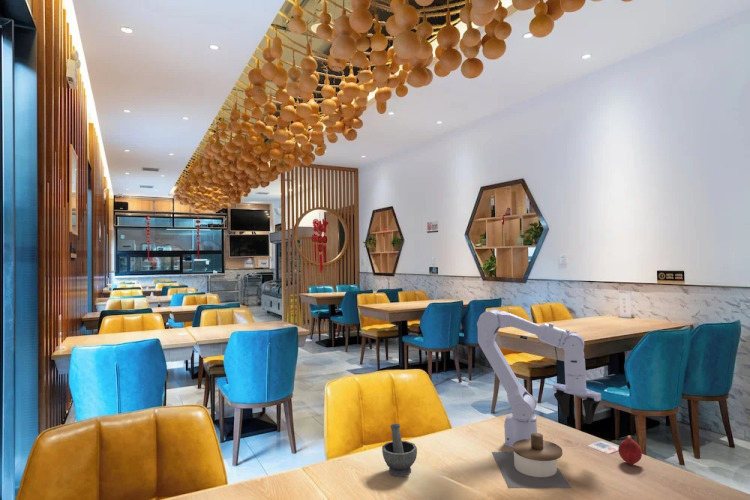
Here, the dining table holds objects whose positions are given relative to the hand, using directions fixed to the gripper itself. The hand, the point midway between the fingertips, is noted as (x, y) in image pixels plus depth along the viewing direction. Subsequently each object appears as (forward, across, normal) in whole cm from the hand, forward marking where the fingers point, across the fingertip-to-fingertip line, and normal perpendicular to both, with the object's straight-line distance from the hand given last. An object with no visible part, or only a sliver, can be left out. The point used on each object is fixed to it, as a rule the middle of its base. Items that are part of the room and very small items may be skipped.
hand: (577, 419), depth 134 cm
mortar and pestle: (+10, -24, -49) cm, 56 cm away
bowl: (+10, -2, -18) cm, 21 cm away
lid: (+5, -1, -18) cm, 18 cm away
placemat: (+10, -3, -20) cm, 23 cm away
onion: (+11, +12, +5) cm, 17 cm away
